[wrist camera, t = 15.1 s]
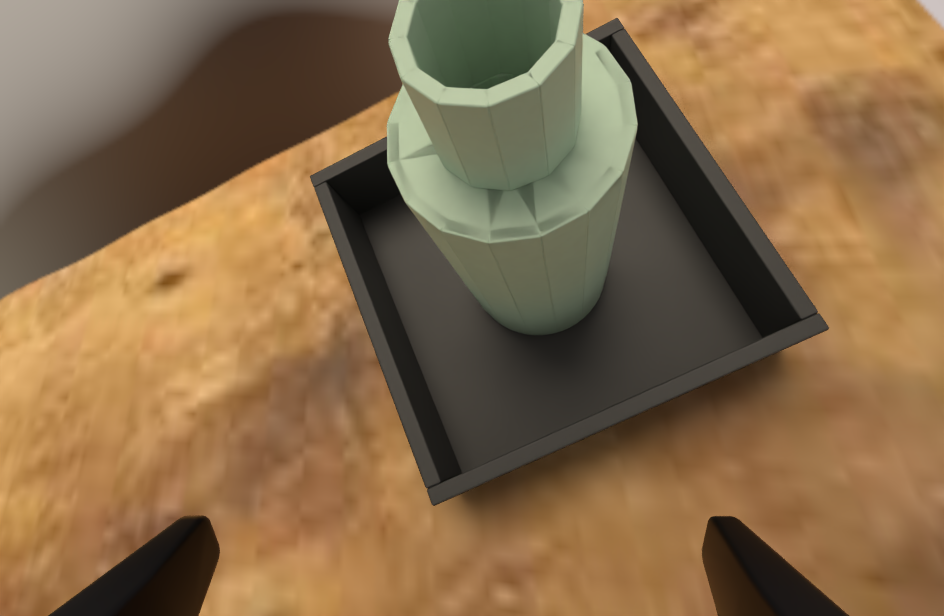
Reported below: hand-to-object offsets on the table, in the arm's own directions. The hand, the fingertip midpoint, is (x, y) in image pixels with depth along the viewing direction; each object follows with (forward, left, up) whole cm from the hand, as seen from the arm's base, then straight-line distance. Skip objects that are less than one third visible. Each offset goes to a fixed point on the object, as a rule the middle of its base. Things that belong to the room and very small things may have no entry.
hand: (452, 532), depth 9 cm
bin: (+5, -7, -12) cm, 15 cm away
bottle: (+5, -7, -12) cm, 14 cm away
